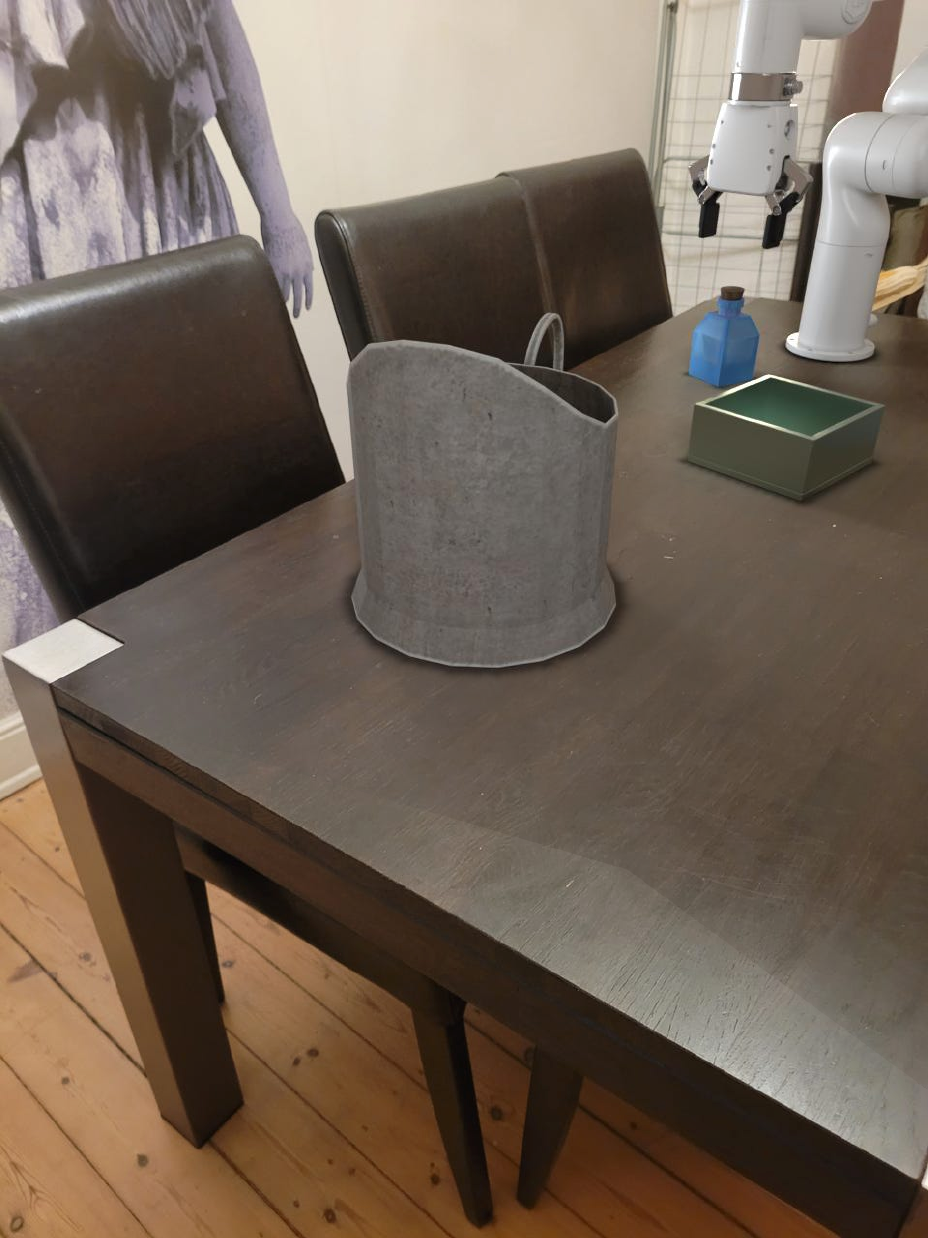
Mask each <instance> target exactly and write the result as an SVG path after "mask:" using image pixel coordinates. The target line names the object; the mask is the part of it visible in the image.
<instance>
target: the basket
mask: <svg viewBox="0 0 928 1238" xmlns="http://www.w3.org/2000/svg"><path fill="white" fill-rule="evenodd" d="M885 408H886V404H883V403H877V402H875V401H871V400H867V399H863V398H859V397H855V396H851V395H849V394H844V393H841V392H837V391H833V390H830V389H825V388H822V387H818V386H815V385H812V384H811V385H810V384H807V383H803V382H799V381H796V380H792V379H788V378H784V377H781V376H777V375H773V374H766V375H762V376H760V377H758V378H756V379H754V380H750V381H748V382H746V383H743V384H741V385H738V386H736V387H733V388H730V389H729V390H725V391H723V392H721V393H718V394H715V395H713V396H710V397H709V398H705V399H703V400H701V401H698V402H696V403H694V406H693V412H692V413H693V414H692V419H691V420H692V421H691V429H690V436H689V444H688V453H687V459H686V461H687V462H689V463H691V464H692V463H693V464H695V465H698V466H701V467H703V468H705V469H708V470H711V471H714V472H718V473H720V474H722V475H725V476H729V477H730V478H731V477H732V478H734V479H737V480H739V481H742V482H745V483H747V484H751V485H752V486H753V485H754V486H756V487H759V488H762V489H765V490H767V491H770V492H772V493H776V494H778V495H782V496H785V497H787V498H790V499H793V500H796V501H798V502H804V501H806V500H807V499H809V498H810V497H813V496H814V495H816V494H818V493H819V492H822V491H823V490H825V489H827V488H829V487H830V486H832V485H834V484H836V483H838V482H839V481H841V480H843V479H845V478H847V477H848V476H850V475H852V474H853V473H856V472H858V471H859V470H861V469H863V468H864V467H867V466H868V465H870V464H872V462H873V457H874V453H875V448H876V445H877V441H878V437H879V434H880V430H881V429H880V428H881V425H882V420H883V416H884V412H885Z"/></svg>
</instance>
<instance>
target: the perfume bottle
mask: <svg viewBox="0 0 928 1238" xmlns="http://www.w3.org/2000/svg"><path fill="white" fill-rule="evenodd" d="M745 291H746V289H745V287H742V286H737V285H725V286H722V287H720V296H718V298H717V304H716V305H717V307H719V308H718V310H715V311H710V312H707V314H705V316H704V317H703V318H702V320H701V321H700V322H699V323H698V325H697V326H696V327H695V329H694V330H693V336H692V345H691V352H690V361H689V369H688V375H689V376H692V377H694V378H696V379H699V380H701V381H703V382H705V383H707V384H710V385H712V386H715V387H717V388H719V387H725V386H730V385H734V384H739V383H743V382H747V381H748V382H749V381H753V379H754V374H755V373H754V372H755V366H756V360H757V356H758V355H757V354H758V348H759V341H760V335H761V334H760V332H759V330H758V327H757V326H756V324H755V322H754V319H753V318H752V315H750V314H747V313H745V312H741V311H742V309H743V308H744V306H745V297H743V296H744V293H745Z"/></svg>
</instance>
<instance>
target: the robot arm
mask: <svg viewBox="0 0 928 1238" xmlns="http://www.w3.org/2000/svg"><path fill="white" fill-rule="evenodd" d="M882 1H884V0H739V7H738V16H737V23H736V29H735V30H736V31H735V38H734V44H733V45H734V47H733V53H732V61H731V68H730V76H729V83H728V91H727V99H726V102H723V103H722V104H721V108H720V111H719V113H718V117H717V120H716V123H715V128H714V131H713V137H712V141H711V147H710V151H709V154H708V155H706V156H704V157H702V158H700V159H699V160H697V161H694V162H693V163H691V164H690V165H689V166H688V172H689V176H690V181H691V182H692V184H691V188H692V191H693V192H694V194H695V196H696V197H697V203H698V205H700V211H699V220H698V234H697V237H698V238H699V239H707V238H710V237H711V238H712V237H714V236H716V235H717V232H718V225H719V217H720V210H721V205H720V203H719V202H718V200H719V199H720V198H721V196H722V195H723V194H724V193H729V194H737V195H745V196H752V197H764V199H765V201H766V203H767V205H768V207H769V209H770V211H771V214H770V213H769V214H767V216H766V219H765V224H764V229H763V230H764V231H763V236H762V243H761V248H762V249H764V250H771V249H774V248H779V247H780V246H781V242H782V240H783V238H784V235H785V229H786V223H787V216H788V214H790V213H791V212H792V211H793V209H794V208H795V207H796V206H798V204H800V202H802V201H803V200H804V196H805V195H806V193H807V192H808V191H809V188H810V187H811V186H812V184H813V182H814V177H813V176H812V175H810V173H808V172H807V171H806V170H805V169H804V168H802V167H801V166H800V165H798V163H796V161H797V152H798V141H799V140H798V139H799V137H798V136H799V109H798V104H792V100H793V98H794V96H795V95H800V94H801V93H802V91H803V89H804V82H803V81H802V80H798V79H797V77H798V74H797V71H798V63H799V58H800V54H801V53H800V52H801V47H802V40H803V41H814V42H815V41H816V42H817V41H823V42H824V41H825V42H826V41H837V40H840V39H844V38H846V37H848V36H850V35H852V34H853V33H854V32H856V31H857V30H858V29H859V28H861V26H862V25H863V24H864V22H865V21H866V19H867V17H868V16H869V14H870V12H871V10H872V5H873V3H875V2H882ZM822 153H823V155H822V192H821V193H822V194H821V205H820V212H819V219H818V226H817V231H816V237H815V242H814V247H813V252H812V257H811V261H810V262H811V263H810V268H809V273H808V278H807V285H806V290H805V294H804V295H805V296H804V300H803V307H802V310H801V311H802V312H801V317H800V323H799V328H798V332H794V333H792V334H790V335H789V336H788V337H787V338H786V342H785V348H786V349H787V350H788V351H789V352H791V353H792V354H795V355H797V356H800V357H803V358H806V359H811V360H816V361H823V362H834V363H835V362H839V363H840V362H841V363H843V362H845V363H847V362H858V361H862V360H866V359H868V358H870V357H872V356H873V354H874V353H875V349H876V346H875V344H874V343H873V342H872V341H871V340H870V339H868V338H866V337H867V333H868V329H871V328H873V327H875V326H877V324H878V317H877V315H876V314H873V313H872V311H873V307H874V302H875V297H876V292H877V290H878V289H877V288H878V284H879V280H880V275H881V270H882V267H883V262H884V258H885V254H886V253H885V252H886V248H887V245H888V244H887V243H888V241H889V234H890V230H891V229H890V228H891V215H890V209H889V204H888V201H887V200H888V199H887V197H886V196H892V197H898V198H905V199H913V200H914V199H915V200H916V199H917V200H919V199H926V198H928V44H927V45H926V46H925V47H924V48H923V49H922V50H921V51H920V53H918V54H917V55H916V57H915V58H914V59H913V60H912V61H911V62H910V63H909V64H908V65H907V66H906V67H905V68H904V69H903V70H902V72H900V73H899V74H898V76H897V77H896V78H895V79H894V80H893V82H892V83H891V85H890V87H889V88H888V90H887V92H886V93H885V96H884V98H883V101H882V111H862V112H855V113H853V114H850V115H848V116H846V117H845V118H843V119H841V120H840V121H838V122H837V124H836V125H835V126H834V127H833V128H832V130H831V131H830V132H829V135H828V136H827V139H826V141H825V144H824V148H823V152H822ZM706 170H707V172H706V179H705V171H706ZM793 182H794V187H793V188H792V186H793ZM791 188H792V191H791V192H790V193H789V194H788V193H787V192H789V191H790V190H791Z"/></svg>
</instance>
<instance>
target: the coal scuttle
mask: <svg viewBox="0 0 928 1238" xmlns="http://www.w3.org/2000/svg"><path fill="white" fill-rule="evenodd" d="M550 325H551V327H552V332H553V334H552V335H553V361H552V363H553V364H552V368H551V367H548V366H541V365H535V364H536V360H537V356H538V353H539V349H540V345H541V343H542V340H543V338H544V336H545V333H546V331H547V329H548V328H549V326H550ZM564 333H565V332H564V325H563V321H562V318H561V316H560V315H559V314H558V313H554V312H547V313H545V314H544V315H543V316H542V317H541V318H540V319H539V321H538V323H537V324H536V326H535V328H534V330H533V332H532V335H531V338H530V340H529V342H528V346H527V349H526V353H525V357H524V361H523V363H516V362H505V361H503V360H502V359H500V358H498V357H494V356H491V355H487V354H484V353H480V352H476V351H473V350H469V349H466V348H462V347H458V346H455V345H454V346H453V345H450V344H445V343H435V342H426V341H419V340H409V339H398V340H391V341H382V342H371V343H368V344H367V345H366V346H365V347H364V348H363V349H361V351H360V352H359V353H358V354H357V356H355V358H353V360H351V362H350V363H349V365H348V371H347V377H346V383H345V384H346V397H347V398H346V399H347V409H348V410H347V411H348V421H349V434H350V445H351V457H352V467H353V470H352V471H353V480H354V481H353V483H354V495H355V505H356V516H357V518H356V519H357V531H358V541H359V553H360V566H361V568H360V570H359V573H358V575H357V579H356V582H355V584H354V588H353V590H352V592H351V596H350V598H351V602H352V605H353V609H354V613H355V617H356V620H357V621H358V622H359V623H360V624H361V625H362V626H363V627H364V628H365V629H366V630H367V631H368V633H370V635H371V636H372V637H373V638H374V639H375V640H376V641H378V642H380V643H382V644H384V645H386V646H388V647H390V648H392V649H394V650H396V651H397V652H400V653H402V654H404V655H406V656H407V657H409V658H410V657H411V658H415V659H419V660H423V661H427V662H431V663H435V664H440V665H444V666H449V667H459V668H460V667H461V668H488V669H489V668H490V669H500V668H506V667H512V666H520V665H525V664H532V663H539V662H544V661H546V660H549V659H552V658H554V657H557V656H560V655H562V654H564V653H567V652H570V651H573V650H576V649H578V648H580V647H581V646H583V645H584V644H585V643H587V642H588V641H589V640H590V639H592V638H593V637H594V636H596V635H597V634H598V633H600V632H601V631H602V630H604V629H605V627H606V626H607V624H608V621H609V620H610V617H611V616H612V614H613V612H614V610H615V608H616V606H617V602H616V593H615V584H614V581H613V578H612V576H611V572H610V571H609V568H608V566H607V558H608V546H609V534H610V524H611V523H610V522H611V509H612V498H613V487H614V486H613V485H614V474H615V463H616V462H615V461H616V449H617V437H618V426H619V408H618V403H617V399H616V398H615V397H614V396H613V395H612V393H610V392H609V391H608V390H606V388H605V387H603V386H602V385H601V384H599V383H597V382H595V381H592V380H590V379H588V378H585V377H583V376H581V375H578V374H576V373H573V372H568V371H564V354H565V353H564V351H565V334H564Z"/></svg>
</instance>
